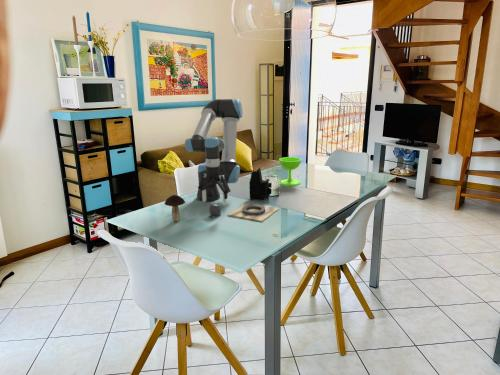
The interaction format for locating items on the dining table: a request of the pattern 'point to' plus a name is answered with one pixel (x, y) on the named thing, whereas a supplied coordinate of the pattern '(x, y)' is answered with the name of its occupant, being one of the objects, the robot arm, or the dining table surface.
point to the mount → (253, 212)
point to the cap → (215, 210)
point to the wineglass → (290, 164)
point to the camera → (259, 186)
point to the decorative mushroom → (175, 206)
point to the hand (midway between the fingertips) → (214, 202)
